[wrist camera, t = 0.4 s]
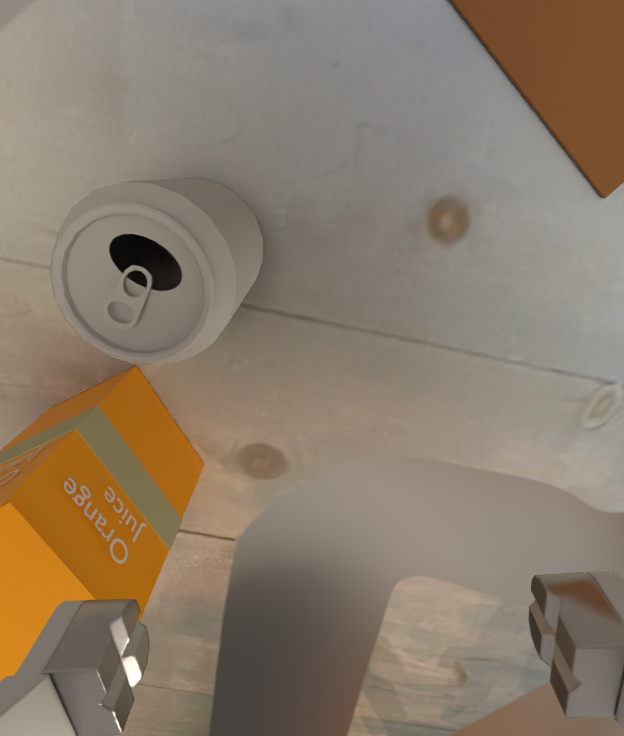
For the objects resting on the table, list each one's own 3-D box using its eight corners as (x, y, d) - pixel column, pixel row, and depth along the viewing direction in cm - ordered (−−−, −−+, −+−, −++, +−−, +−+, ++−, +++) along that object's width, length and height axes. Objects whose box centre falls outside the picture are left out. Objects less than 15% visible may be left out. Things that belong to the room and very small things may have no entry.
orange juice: (119, 502, 37) (-90, 839, 18) (46, 408, 34) (-292, 697, 15) (207, 464, 35) (76, 790, 17) (138, 363, 32) (-112, 622, 14)
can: (287, 220, 29) (264, 251, 17) (232, 325, 31) (180, 411, 20) (171, 152, 27) (67, 138, 16) (123, 267, 30) (4, 324, 19)
